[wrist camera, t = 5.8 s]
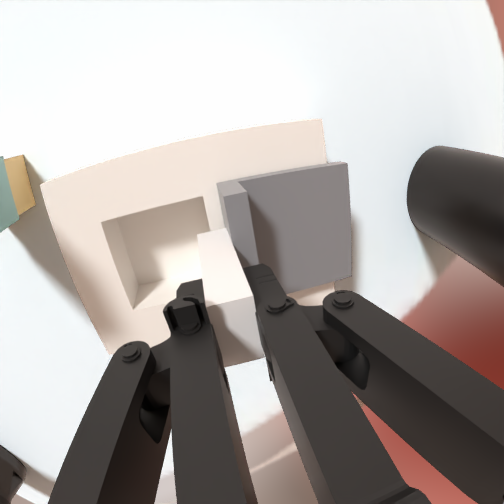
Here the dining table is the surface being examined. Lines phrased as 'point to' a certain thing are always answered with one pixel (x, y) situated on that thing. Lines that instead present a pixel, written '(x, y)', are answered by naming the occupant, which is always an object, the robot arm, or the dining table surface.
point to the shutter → (292, 223)
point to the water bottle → (461, 204)
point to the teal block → (14, 190)
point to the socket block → (162, 220)
